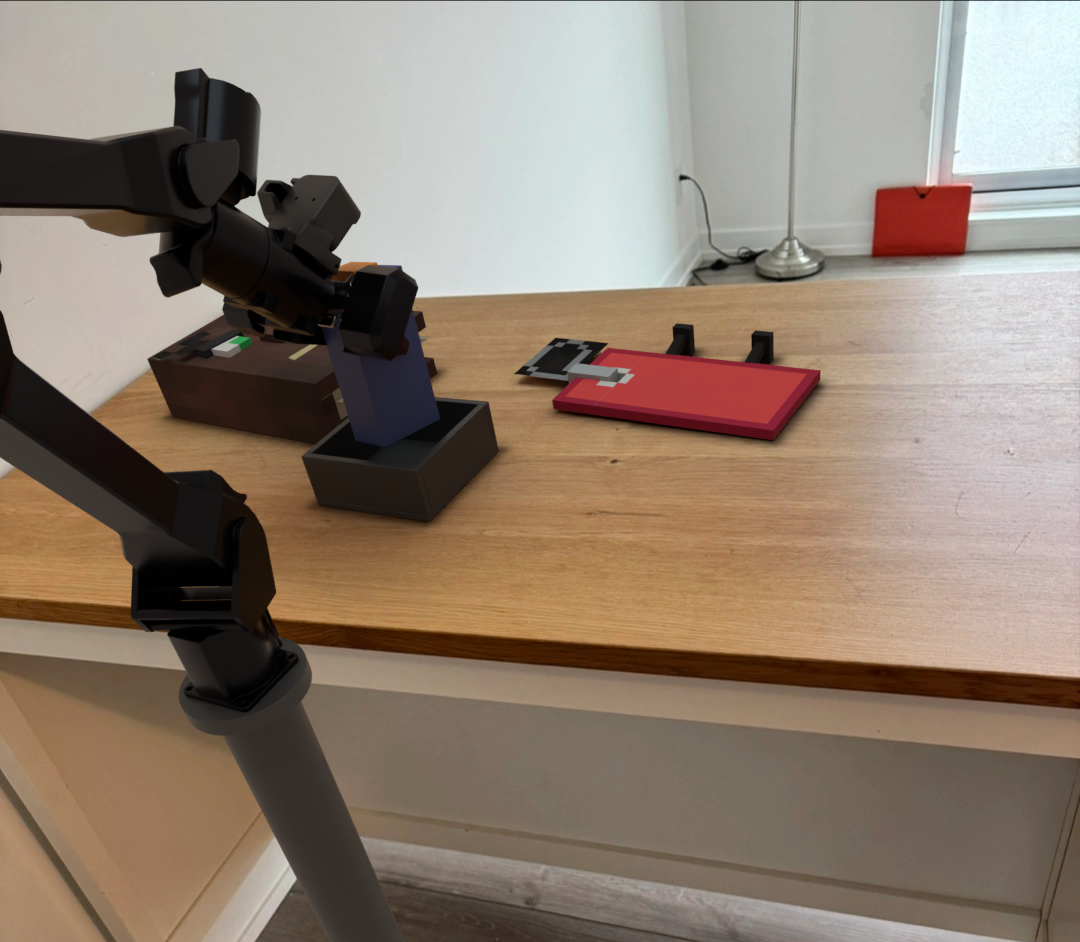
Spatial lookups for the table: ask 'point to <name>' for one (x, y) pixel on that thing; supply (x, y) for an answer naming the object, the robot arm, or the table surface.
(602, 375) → the red board with handle
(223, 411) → the decorative book
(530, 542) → the table surface
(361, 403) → the block
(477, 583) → the table surface
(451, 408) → the bin
